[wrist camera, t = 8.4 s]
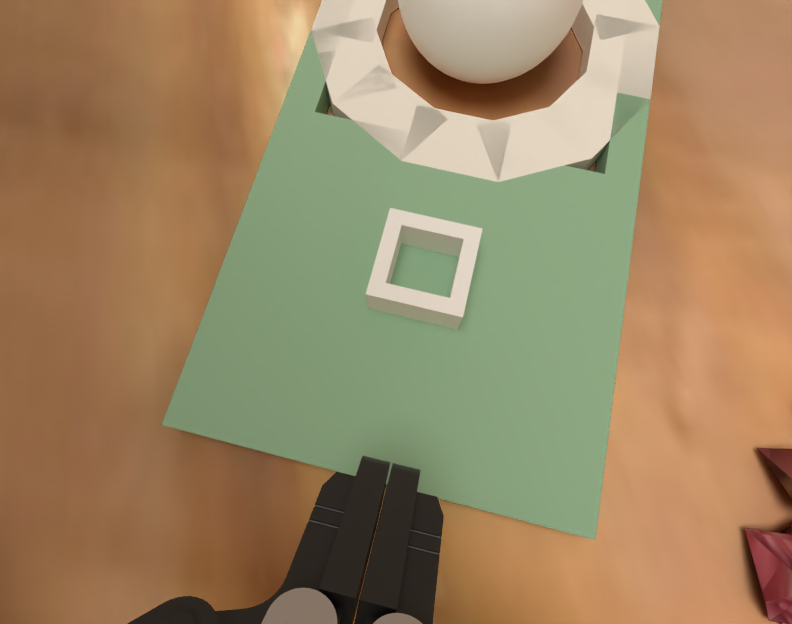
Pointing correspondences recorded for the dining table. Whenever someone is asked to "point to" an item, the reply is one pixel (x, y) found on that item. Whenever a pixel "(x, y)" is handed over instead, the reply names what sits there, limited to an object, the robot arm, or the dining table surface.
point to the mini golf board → (434, 276)
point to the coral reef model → (775, 548)
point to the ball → (487, 34)
